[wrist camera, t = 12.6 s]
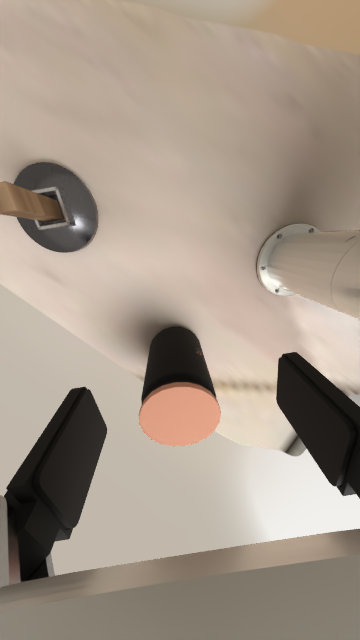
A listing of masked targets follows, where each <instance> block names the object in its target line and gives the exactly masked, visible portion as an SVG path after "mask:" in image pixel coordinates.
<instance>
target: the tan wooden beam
mask: <svg viewBox="0 0 360 640" xmlns="http://www.w3.org/2000/svg"><path fill="white" fill-rule="evenodd" d="M0 214H3V215H9V216H15V217H21V218H27V219H34V220H40V221H46V222H51V221H56V220H62V219H64V217H63V214H62V212H61V209H60V206H59V203H58V201H57V200H54V199H52V198H49V197H46V196H44V195H41V194H38V193H35V192H33V191H30V190H27V189H25V188H22V187H19V186H16V185H14V184H11V183H8V182H5V181H4V182H0Z"/></svg>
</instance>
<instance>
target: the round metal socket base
mask: <svg viewBox="0 0 360 640" xmlns="http://www.w3.org/2000/svg"><path fill="white" fill-rule="evenodd" d="M14 185H16V186H19V187H22V188H25V189H27V190H30V191H33V192H35V193H38V194H41V195H44V196H46V197H49V198H52V199H54V200H57V201H58V203H59V206H60V209H61V212H62V214H63V217H64V219H62V220H56V221H51V222H46V221H40V220H34V219H27V218H21V217H17V219H18V221H19V223H20V225H21V226H22V228H23V229H24V231H25V232H26V233H27V234H28V235H29V236H30V237H31V238H32V239H33V240H34V241H35V242H37V243H38V244H39V245H41V246H43V247H45V248H47V249H49V250H52V251H56V252H74V251H78V250H80V249H82V248H84V247H86V246H87V245H88V244H89V243H90V242H91V241H92V239H93V238H94V236H95V234H96V231H97V227H98V211H97V207H96V203H95V201H94V198H93V196H92V194H91V193H90V191H89V189H88V188H87V187H86V185H85V184H84V183H83V182H82V181H81V180H80V179H79V178H78V177H77V176H76V175H74V174H73V173H71V172H70V171H68V170H67V169H65V168H63V167H61V166H59V165H56V164H52V163H45V162H42V163H35V164H32V165H30V166H28V167H26V168H25V169H23V170H22V171H21V172H20V173H19V175H18V176H17V178H16V180H15V182H14Z"/></svg>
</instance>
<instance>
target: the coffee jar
mask: <svg viewBox="0 0 360 640" xmlns="http://www.w3.org/2000/svg"><path fill="white" fill-rule="evenodd" d="M220 415H221V411H220V407H219V404H218V401H217V399H216V394H215V391H214V387H213V384H212V381H211V378H210V374H209V371H208V368H207V365H206V362H205V358H204V355H203V352H202V349H201V346H200V342H199V340H198V338H197V337H196V336H195V334H193V333H192V332H191V331H189V330H187V329H184V328H181V327H171V328H168V329H164V330H163V331H161V332H160V333H158V334H157V335H156V336H155V337H154V339H153V340H152V343H151V346H150V351H149V356H148V362H147V368H146V374H145V380H144V386H143V392H142V406H141V409H140V412H139V422H140V423H139V424H140V426H141V428H142V429H143V432H144V433H145V434H146V435H147V436H148V437H149V438H151V439H152V440H154V441H156V442H158V443H161V444H165V445H171V446H185V445H189V444H193V443H197V442H199V441H201V440H203V439H204V438H206V437H208V436H209V435H210V434H211V433H212V432H213V431H214V430H215V429H216V427H217V425H218V424H219V421H220Z"/></svg>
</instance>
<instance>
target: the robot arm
mask: <svg viewBox="0 0 360 640" xmlns="http://www.w3.org/2000/svg"><path fill="white" fill-rule="evenodd" d="M277 235H278V238H277ZM261 266H262V268H261ZM257 274H258V278H259V281H260V282H261V284H262V285H263V287H264V288H265V289H266V290H268V291H270V292H271V293H273V294H276V295H280V296H290V295H295V294H298V295H301V296H303V297H306V298H308V299H310V300H313V301H315V302H318V303H320V304H323V305H325V306H327V307H330V308H332V309H335V310H337V311H340V312H342V313H345V314H347V315H350V316H352V317H355V318H358V319H360V230H354V231H337V232H321V231H320V230H318V229H317V228H316V227H314V226H312V225H309V224H303V223H302V224H293V225H288V226H286V227H283V228H281V229H280V230H278V231H276V232H275V233H274V234H273V235H272V236H270V238H269V239H268V240H267V241H266V242H265V244H264V246H263V247H262V249H261V251H260V254H259V256H258V261H257ZM275 289H276V290H275ZM276 399H277V404H278V406H279V407H280V409H281V410H282V412H283V413H284V415H285V416H286V418H287V419H288V421H289V422H290V424H291V425H292V427H293V428H294V430H295V431H296V433H297V434H298V436H299V437H300V439H301V440H302V442H303V443H304V445H305V446H306V448H307V449H308V451H309V452H310V454H311V455H312V457H313V458H314V460H315V461H316V463H317V464H318V466H319V467H320V469H321V470H322V472H323V473H324V475H325V476H326V478H327V479H328V481H329V482H330V483H331V484H332V485H333V486H337V488H338V489H339V490H340V492H341V494H342V495H343V496H346V495H352V494H357V495H358V497H359V498H360V407H359V406H358V405H357V404H355V403H354V402H353V401H352V400H351V399H350V398H349V397H348V396H346V395H345V394H344V393H343V392H342V391H341V390H339V389H338V388H337V387H336V386H335V385H334V384H333V383H331V382H330V381H329V380H328V379H327V378H326V377H325V376H323V375H322V374H321V373H320V372H319V371H318V370H316V369H315V368H314V367H313V366H312V365H311V364H310V363H308V362H307V361H306V360H305V359H304V358H303V357H301V356H300V355H299V354H298V353H296V352H292V353H286V354H283V355H282V357H281V358H279V362H278V380H277V397H276ZM106 434H107V427H106V424H105V422H104V420H103V418H102V415H101V413H100V411H99V409H98V407H97V404H96V403H95V400H94V398H93V395H92V393H91V391H90V390H89V389H88V390H87V388H86V387H81V388H74V389H72V390H71V391H70V392H69V393H68V395H67V397H66V398H65V399H64V401H63V402H62V404H61V406H60V407H59V409H58V410H57V412H56V413H55V415H54V416H53V418H52V419H51V421H50V422H49V424H48V425H47V427H46V428H45V430H44V431H43V433H42V434H41V436H40V437H39V439H38V440H37V442H36V443H35V445H34V447H33V448H32V450H31V451H30V453H29V454H28V456H27V457H26V459H25V460H24V462H23V464H22V465H21V466H20V468H19V469H18V471H17V472H16V474H15V475H14V477H13V479H12V480H11V482H10V484H9V485H8V486H7V490H8V491H7V492H6V494H5V495H4V497H3V496H0V640H360V529H354V530H346V531H338V532H331V533H323V534H317V535H310V536H303V537H297V538H290V539H283V540H277V541H271V542H263V543H256V544H250V545H243V546H237V547H231V548H224V549H218V550H212V551H205V552H198V553H192V554H185V555H179V556H173V557H167V558H160V559H154V560H148V561H141V562H136V563H129V564H124V565H116V566H111V567H104V568H98V569H92V570H86V571H79V572H73V573H68V574H62V575H57V576H55V574H54V569H53V563H52V558H51V549H52V547H53V544H54V542H55V541H60V540H66V539H69V538H70V535H71V533H72V530H73V528H74V527H75V526H76V525H77V524H78V521H79V519H80V516H81V512H82V509H83V506H84V503H85V500H86V497H87V493H88V491H89V487H90V484H91V481H92V478H93V475H94V472H95V469H96V466H97V462H98V459H99V456H100V453H101V450H102V447H103V444H104V440H105V438H106Z"/></svg>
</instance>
